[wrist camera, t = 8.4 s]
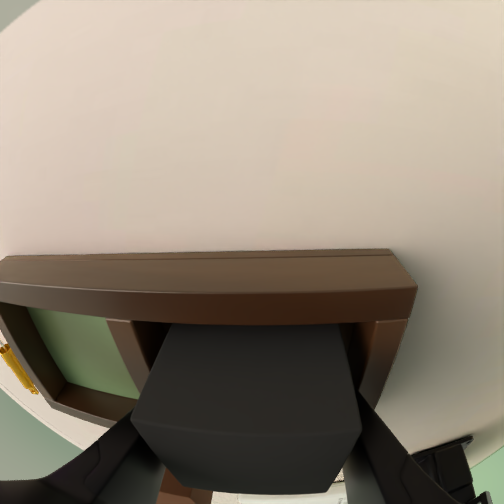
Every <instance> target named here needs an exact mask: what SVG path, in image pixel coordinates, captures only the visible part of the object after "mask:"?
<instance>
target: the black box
mask: <svg viewBox="0 0 504 504" xmlns="http://www.w3.org/2000/svg"><path fill="white" fill-rule="evenodd" d="M131 422H132V423H133V425H134V426H135V428H136V429H137V430H138V432H139V433H140V435H141V436H142V437H143V439H144V440H145V441H146V443H147V444H148V445H149V447H150V448H151V449H152V451H153V452H154V453H155V454H156V456H157V457H158V458H159V459H160V461H161V462H162V463H163V464H164V465H165V467H166V468H167V469H168V470H169V471H170V473H171V474H172V475H173V476H174V477H175V478H176V479H177V480H178V482H179V483H180V484H181V485H182V486H184V487H189V488H195V489H201V490H208V491H216V492H226V493H237V494H253V495H301V494H317V493H326V492H327V491H328V490H329V488H330V486H331V485H332V483H333V482H334V480H335V478H336V477H337V475H338V474H339V472H340V470H341V469H342V467H343V465H344V463H345V462H346V460H347V458H348V456H349V455H350V453H351V451H352V449H353V447H354V445H355V443H356V441H357V440H358V438H359V436H360V434H361V432H362V424H361V419H360V414H359V409H358V404H357V399H356V394H355V390H354V385H353V381H352V376H351V372H350V367H349V363H348V359H347V355H346V351H345V346H344V342H343V338H342V334H341V331H340V327H339V323H336V324H313V325H205V324H182V323H172V325H171V327H170V329H169V332H168V334H167V336H166V338H165V340H164V342H163V345H162V347H161V349H160V351H159V353H158V355H157V358H156V360H155V362H154V364H153V367H152V369H151V371H150V373H149V376H148V378H147V380H146V382H145V385H144V387H143V389H142V392H141V394H140V396H139V399H138V401H137V403H136V406H135V408H134V410H133V413H132V415H131Z"/></svg>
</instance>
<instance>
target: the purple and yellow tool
mask: <svg viewBox="0 0 504 504" xmlns="http://www.w3.org/2000/svg"><path fill="white" fill-rule="evenodd" d="M0 344H1V345H2V347H1V348H0V355H1V356H2V358H3V359H4V361H5V362H6V364H7V365H8V366H9V367H10V368H11V369H12V371H13V372H14V374H15V375H16V376H17V378H18V379H19V381H20V382H21V383H22V385H23V386H24V387H25V388H26V389H29V390H30V392H31V393H32V394H38V393H39V392H38V390H37V389H36V388H35V386H34V383H33V382H32V380H31V379H30V377H29V376H28V375H27V373H26V372H25V370H24V369H23V367H22V366H21V364H20V362H19V361H18V359H17V358H16V356H15V354H14V353H13V351H12V349H11V348H10V346H9V344H5V345H4V344H3V342H2V340H1V339H0Z"/></svg>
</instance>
